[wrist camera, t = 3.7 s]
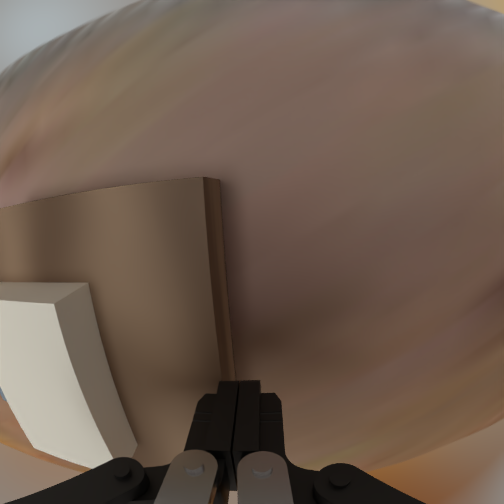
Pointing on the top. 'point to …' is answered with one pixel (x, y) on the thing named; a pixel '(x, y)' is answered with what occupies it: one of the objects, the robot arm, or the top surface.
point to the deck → (139, 292)
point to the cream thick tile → (60, 373)
